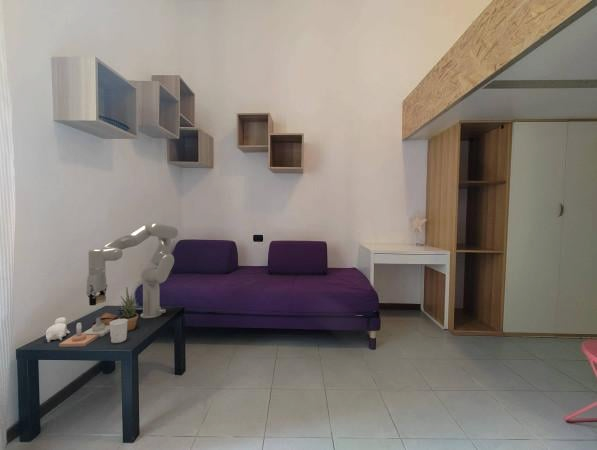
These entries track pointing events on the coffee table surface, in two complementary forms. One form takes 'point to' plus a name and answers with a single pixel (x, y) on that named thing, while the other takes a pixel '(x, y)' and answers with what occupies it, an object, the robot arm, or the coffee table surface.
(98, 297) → the birch ring
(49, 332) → the white figurine
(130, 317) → the potted plant
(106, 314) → the sunglasses case
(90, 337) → the hub post
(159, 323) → the coffee table surface
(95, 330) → the stand
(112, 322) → the white cup
